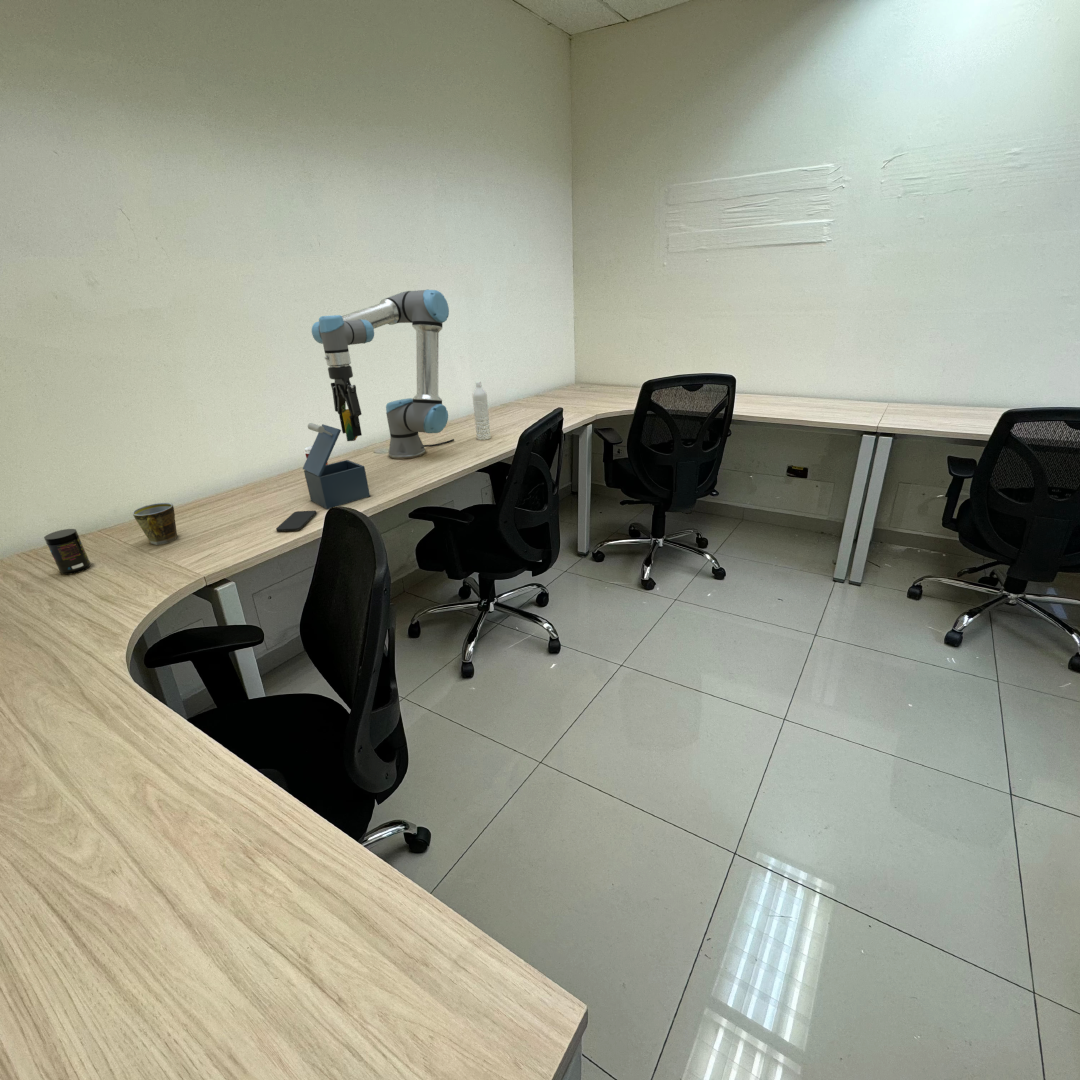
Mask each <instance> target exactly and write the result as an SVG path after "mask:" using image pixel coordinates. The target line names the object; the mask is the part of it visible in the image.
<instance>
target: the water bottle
mask: <svg viewBox="0 0 1080 1080" xmlns="http://www.w3.org/2000/svg"><path fill="white" fill-rule="evenodd" d="M488 403H489V402H488V393H487V392H486V390H485V389H484V387H482V381H475V387H474V390H473V392H472V404H473V416H474V425H475V435H476V439H477V440H478V441H487V440H490V439H491V438H492V437H491V426H490V425H491V424H490V416H489V415H490V414H489V413H490V412H489V405H488Z"/></svg>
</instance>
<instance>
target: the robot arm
mask: <svg viewBox="0 0 1080 1080" xmlns="http://www.w3.org/2000/svg"><path fill="white" fill-rule="evenodd" d="M449 307H450V306H449V303H448V301H447V299H446V298H445V296H444V294H443V293H442V292H441V291H439V290H437V289H421V290H420V289H417V290H406V291H402V292H399V293H396V294H394V295H391V296H387V297H386V298H383V299H381V300H380V302H379V303H377V304H374V305H370V306H368V307H364V308H362V309H359V310H356V311H353V312H349V313H347V314H342V315H340V314H337V315H336V314H332V315H322V316H319V318H318V321H316V322H314V323H313V324H312V326H311V335H312V338H313V339H314V341H316V343H318V344H320V345H322V346H323V350H324V360H326V365H327V371H328V376H329V379H330V380H334V382H330V388H331V391H332V398H333V406H334V411H335V412H336V413H337V414H338V416H339V421H340V427H341V433H342V434H343V435H344V434H346V432H345V426H344V420H343V415H342V408H341V407H342V406H343V405H344V404H345V408H346V409H349V412H350V414H351V416H349V418H350V420H351V426H352V431H353V436H354V437H356V436H358V437H360V436H361V437H362V436H363V434H362V429H361V423H360V418H359V417H360V416H362V409H361V406H360V402H359V401H360V400H359V398H358V393H357V386H356V384H352V382H351V381H350V379H352V378H353V377H354V373H353V368H352V367H353V366H351V364H352V361H351V356H350V350H349V346H353V345H360V344H362V345H364V344H366V343H367V344H368V343H370V342H372V341H373V339H374V338H375V329H377V328H380V327H383V326H385V325H389V326H393V325H396V324H408V323H409V324H411V326H412V328H413V329H414V330H415V332H416V333H415V334H416V335H415V338H416V339H415V340H416V341H415V343H416V344H415V345H416V347H415V349H416V354H415V355H416V358H415V359H416V362H415V363H416V394H415V395H414V397H413V398H412V397H408V398H402V399H397V400H392V401H390V402H387V403H386V405H385V411H386V413H385V414H386V419H387V424H388V430H389V435H390V436H389V437H390V442H389V446H388V447H389V448H388V456H389V458H390V459H393V460H408V459H415V458H419V457H422V456H423V455H425V454H426V448H431V447H437V446H442V445H445V444H449V443H451V442H455V439H454V438H452V439H449V440H446V441H442V442H439V443H435V444H424V443H423V442H422V440H421V437H420V435H419V433H424V434H425V433H426V434H438V433H441V432H442V431H444V429H445V428H446V426H447V424H448V421H449V411H448V409H447V407H446V406H445V405H444V404H443V399H442V398H441V396H440V395H439V339H440V338H439V335H440V331H442V330H443V323H445V322H446V321H447V320H448V319H449V315H450V310H449ZM343 409H344V407H343Z"/></svg>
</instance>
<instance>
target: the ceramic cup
mask: <svg viewBox="0 0 1080 1080" xmlns="http://www.w3.org/2000/svg"><path fill="white" fill-rule="evenodd" d="M132 515H133V518H134V519H135V521H136V522H137V525H139V527H140V528H141V530H142V532H143V533H144V535H145V536H146V539H148V541H149V542H150V544H152V545H155V546H161V545H165V544H166V545H167V544H169V543H171V542H173V541H175V540H177V537H178V530H177V524H176V523H177V522H176V513H175V507H174V503H171V502H157V503H151V504H147V505H145V506H142V507H139V508H136V509H135V510H133V512H132Z"/></svg>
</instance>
